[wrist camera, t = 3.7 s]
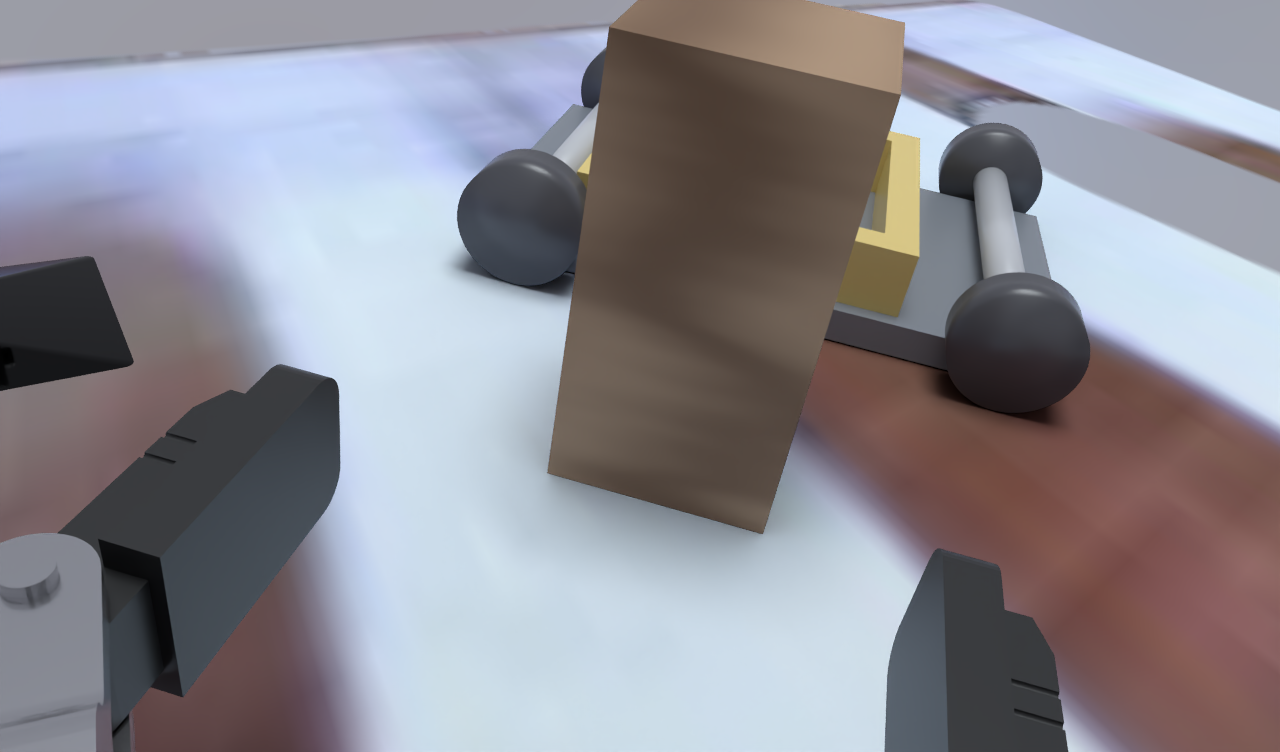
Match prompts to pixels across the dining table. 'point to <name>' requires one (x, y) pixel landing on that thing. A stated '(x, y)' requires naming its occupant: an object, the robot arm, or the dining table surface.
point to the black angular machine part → (57, 323)
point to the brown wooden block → (717, 243)
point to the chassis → (852, 254)
